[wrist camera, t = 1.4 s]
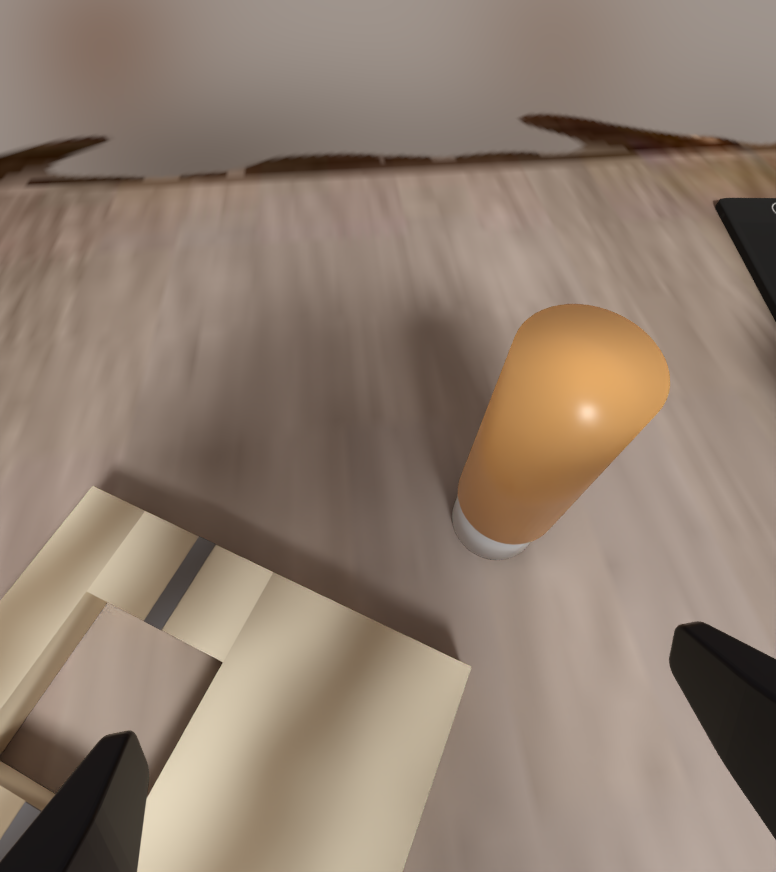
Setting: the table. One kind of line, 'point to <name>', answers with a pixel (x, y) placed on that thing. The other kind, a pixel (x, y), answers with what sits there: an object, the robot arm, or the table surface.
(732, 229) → the cell phone
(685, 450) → the table surface
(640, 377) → the orange rounded cylinder
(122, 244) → the table surface
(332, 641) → the subfloor panel
